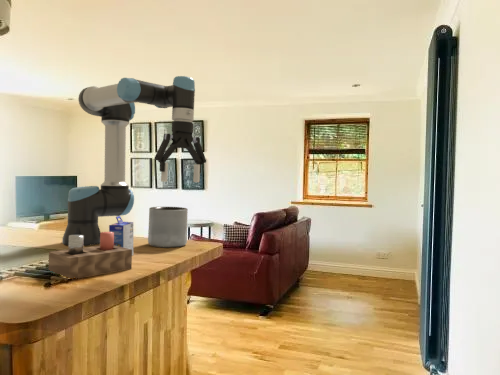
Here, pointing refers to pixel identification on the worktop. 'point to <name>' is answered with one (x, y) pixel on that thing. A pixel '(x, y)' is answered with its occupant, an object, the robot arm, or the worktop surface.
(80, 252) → the grey plug
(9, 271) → the worktop surface
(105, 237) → the red plug
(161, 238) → the planter
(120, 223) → the ink cartridge box
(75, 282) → the worktop surface
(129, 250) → the walnut block
